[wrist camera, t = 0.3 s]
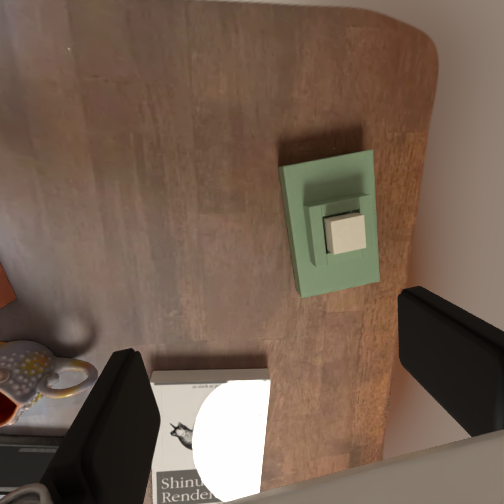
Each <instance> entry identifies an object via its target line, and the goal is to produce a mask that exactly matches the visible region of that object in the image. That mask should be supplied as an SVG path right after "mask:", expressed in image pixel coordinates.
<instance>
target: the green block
mask: <svg viewBox="0 0 504 504" xmlns="http://www.w3.org/2000/svg"><path fill="white" fill-rule="evenodd" d="M278 169H279V176H280V183H281V190H282V197H283V203H284V210H285V217H286V224H287V231H288V237H289V244H290V251H291V258H292V265H293V271H294V278H295V285H296V291H297V292H298V294H299V295H300V297H301V298H306V297H311V296H315V295H320V294H324V293H329V292H333V291H338V290H342V289H347V288H351V287H355V286H360V285H364V284H369V283H373V282H378V281H380V277H379V258H378V239H377V220H376V201H375V181H374V162H373V150H365V151H359V152H353V153H348V154H343V155H338V156H332V157H327V158H322V159H317V160H311V161H306V162H301V163H296V164H290V165H285V166H280V167H278ZM353 212H356V213H360V214H363V215H364V221H365V236H366V248H362V249H358V250H353V251H348V252H344V253H339V254H333V253H331V252H330V251H328V250H327V244H326V234H325V225H324V218H329V217H334V216H339V215H344V214H348V213H353Z"/></svg>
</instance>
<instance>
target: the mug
mask: <svg viewBox="0 0 504 504" xmlns="http://www.w3.org/2000/svg"><path fill="white" fill-rule="evenodd" d="M70 370H77V371H83V372H85V373H86V374H87V375H88V378H87V379H86V380H85V381H83V382H82V383H80V384H78V385H76V386H73V387H70V388H66V389H52V388H51V387H52V385H53V384H55V383H57V382H58V381H59V374H61V373H62V372H65V371H70ZM97 378H98V371H97V369H96V368H95V367H94V366H93V365H92V364H90V363H88V362H85V361H82V360H77V359H71V358H63V357H56V356H55V355H54V354H53V353H52V352H51V351H50V350H49V349H48V348H47V347H45V346H44V345H42V344H39V343H37V342H34V341H29V340H15V341H10V342H2V341H0V427H2V426H5V425H13V424H14V423H16V422H17V420H18V417H19V416H20V415H21V414H22V413H23V412H24V411H25V410H29V409H30V408H31V407H32V405H34V404H36V403H37V401H38V400H39V399H42V398H43V396H45V397H48V398H66V397H70V396H74V395H77V394H79V393H82V392H84V391H86V390H87V389H89V388H90V387H92V386H93V385H94V383H95V382H96V380H97Z"/></svg>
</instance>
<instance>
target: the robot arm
mask: <svg viewBox="0 0 504 504" xmlns="http://www.w3.org/2000/svg"><path fill="white" fill-rule="evenodd" d="M398 333H399V358H400V362H401V364H402V365H403V367H404V368H405V369H406V370H407V371H408V372H409V373H410V374H411V375H412V376H413V377H414V378H415V379H416V380H417V381H418V382H419V383H420V384H421V385H422V386H423V387H424V388H425V389H426V390H427V391H428V393H430V395H432V397H434V399H435V400H436V401H437V402H438V403H439V404H440V405H441V406H442V407H443V408H444V409H445V410H446V411H447V412H448V413H449V414H450V415H451V416H452V417H453V418H454V419H455V420H456V421H457V422H458V423H459V424H460V425H461V426H462V427H463V428H464V429H465V430H466V431H467V432H468V434H470V436H471V438H467V439H463V440H460V441H456V442H452V443H448V444H444V445H440V446H436V447H432V448H428V449H425V450H420V451H416V452H412V453H409V454H404V455H401V456H397V457H393V458H389V459H385V460H381V461H378V462H374V463H370V464H366V465H362V466H358V467H354V468H351V469H347V470H343V471H339V472H335V473H332V474H328V475H324V476H320V477H316V478H313V479H309V480H305V481H301V482H297V483H293V484H290V485H286V486H282V487H278V488H275V489H271V490H267V491H264V492H260V493H256V494H252V495H249V496H245V497H241V498H237V499H234V500H230V501H226V502H223V503H219V504H504V332H503V331H502V330H500V329H498V328H496V327H494V326H493V325H491V324H489V323H487V322H485V321H484V320H482V319H480V318H478V317H476V316H474V315H472V314H471V313H469V312H467V311H465V310H463V309H462V308H460V307H458V306H456V305H454V304H452V303H451V302H449V301H447V300H445V299H443V298H441V297H440V296H438V295H436V294H434V293H432V292H430V291H429V290H427V289H425V288H423V287H421V286H416V287H412V288H407V289H403V290H402V292H401V294H399V295H398ZM160 423H161V417H160V412H159V409H158V406H157V403H156V399H155V396H154V393H153V390H152V387H151V384H150V381H149V378H148V375H147V372H146V369H145V366H144V363H143V360H142V357H141V354H140V352H139V351H136V352H135V351H134V350H133V349H132V348H129V349H125V350H120V351H116V352H114V353H113V354H112V355H111V357H110V359H109V361H108V362H107V364H106V366H105V368H104V369H103V371H102V373H101V375H100V376H99V378H98V380H97V382H96V383H95V385H94V387H93V388H92V390H91V392H90V394H89V395H88V397H87V399H86V401H85V402H84V404H83V406H82V408H81V409H80V411H79V413H78V415H77V416H76V418H75V420H74V422H73V423H72V425H71V427H70V429H69V430H68V432H67V434H66V436H65V437H64V439H63V441H62V443H61V444H60V446H59V448H58V450H57V451H56V453H55V455H54V457H53V458H52V460H51V462H50V463H49V465H48V467H47V469H46V471H45V473H44V475H43V476H42V478H41V480H40V482H39V483H33V484H27V485H25V486H22V487H20V488H18V489H15V490H14V491H12V492H11V493H9V494H7V495H6V496H4V497H3V498H1V499H0V504H143V502H144V497H145V493H146V488H147V483H148V479H149V474H150V470H151V465H152V461H153V456H154V452H155V447H156V442H157V438H158V433H159V429H160Z"/></svg>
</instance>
